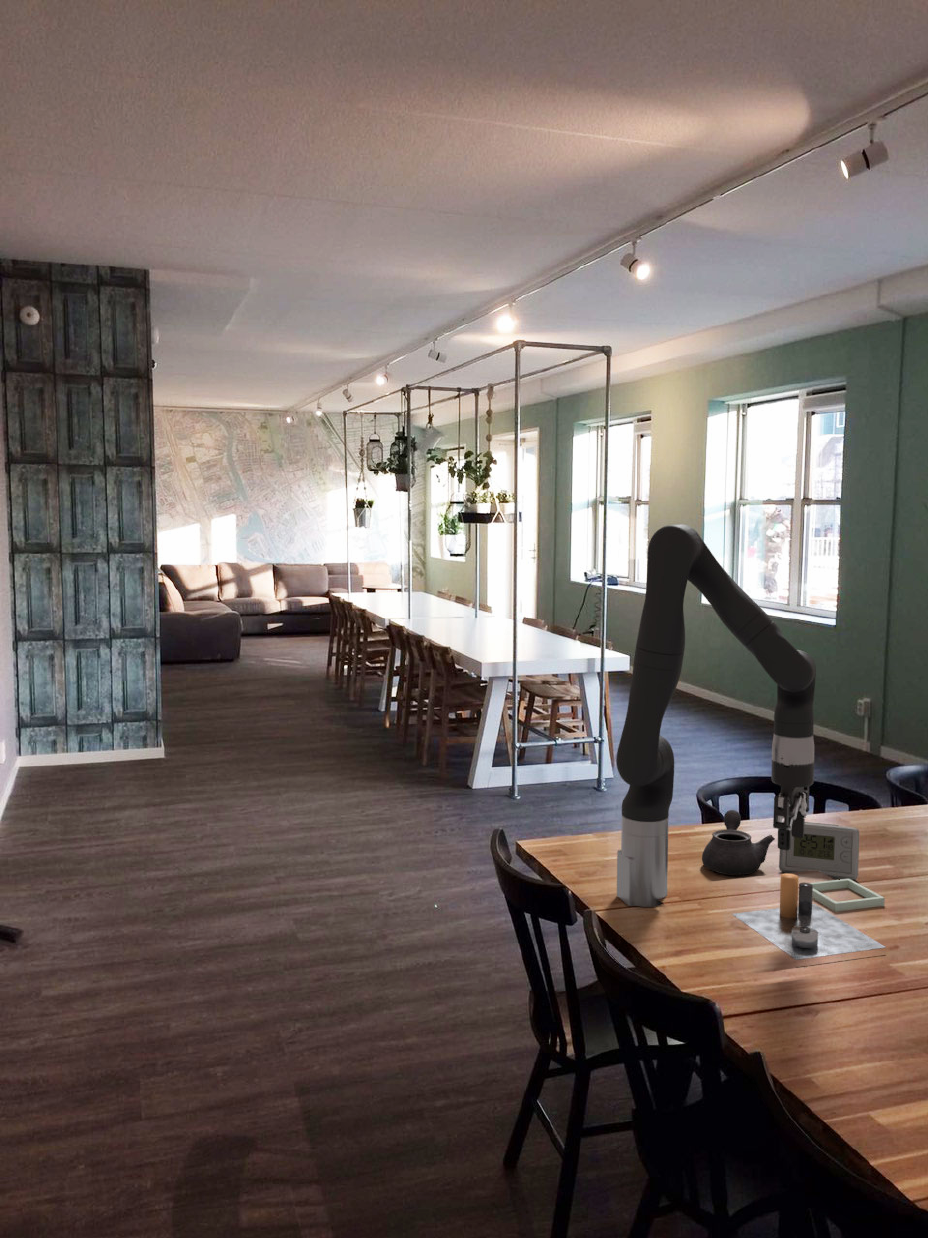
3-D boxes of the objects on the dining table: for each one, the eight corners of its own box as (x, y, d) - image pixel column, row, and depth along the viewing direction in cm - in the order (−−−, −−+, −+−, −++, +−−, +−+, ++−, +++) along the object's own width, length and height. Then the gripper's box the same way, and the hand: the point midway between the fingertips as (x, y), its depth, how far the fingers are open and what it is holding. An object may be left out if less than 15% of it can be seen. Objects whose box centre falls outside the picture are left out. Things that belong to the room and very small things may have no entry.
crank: (817, 949, 179) (819, 910, 178) (791, 946, 180) (792, 907, 180) (817, 914, 195) (818, 878, 194) (792, 911, 196) (793, 876, 195)
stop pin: (786, 919, 193) (787, 880, 192) (776, 912, 196) (777, 874, 196) (800, 917, 194) (802, 878, 193) (790, 910, 197) (792, 872, 196)
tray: (834, 919, 197) (835, 903, 197) (801, 898, 208) (801, 884, 207) (884, 912, 200) (884, 897, 200) (848, 892, 210) (848, 878, 210)
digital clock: (774, 873, 222) (776, 825, 221) (785, 861, 230) (787, 814, 229) (853, 887, 214) (855, 837, 213) (862, 874, 221) (864, 826, 220)
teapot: (780, 880, 218) (782, 834, 217) (706, 878, 219) (707, 832, 218) (761, 851, 237) (762, 808, 236) (693, 849, 238) (694, 807, 237)
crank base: (795, 968, 176) (796, 959, 176) (731, 921, 196) (731, 913, 196) (885, 955, 181) (886, 947, 181) (814, 911, 201) (814, 903, 201)
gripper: (784, 748, 200) (782, 830, 202) (760, 763, 188) (758, 850, 190) (824, 753, 196) (822, 836, 197) (802, 768, 184) (800, 857, 186)
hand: (791, 843), depth 194 cm, fingers open, 8 cm apart
